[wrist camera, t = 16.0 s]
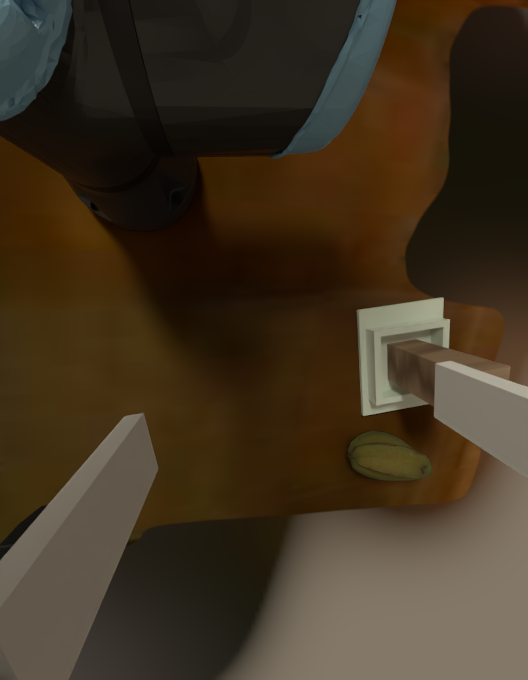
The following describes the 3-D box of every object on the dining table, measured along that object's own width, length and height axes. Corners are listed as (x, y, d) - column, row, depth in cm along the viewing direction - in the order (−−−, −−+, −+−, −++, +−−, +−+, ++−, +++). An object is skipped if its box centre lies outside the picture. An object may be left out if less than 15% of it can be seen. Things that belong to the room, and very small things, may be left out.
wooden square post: (387, 343, 39) (467, 374, 26) (416, 339, 40) (510, 366, 26) (387, 378, 41) (464, 425, 27) (416, 374, 41) (505, 417, 27)
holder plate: (356, 309, 38) (366, 311, 35) (440, 297, 39) (456, 298, 36) (361, 414, 42) (370, 423, 39) (437, 400, 43) (452, 408, 40)
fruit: (391, 405, 43) (419, 426, 36) (416, 455, 45) (446, 483, 39) (334, 439, 43) (352, 465, 36) (362, 486, 46) (383, 519, 39)
